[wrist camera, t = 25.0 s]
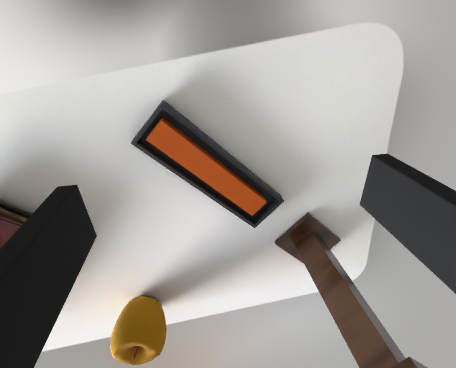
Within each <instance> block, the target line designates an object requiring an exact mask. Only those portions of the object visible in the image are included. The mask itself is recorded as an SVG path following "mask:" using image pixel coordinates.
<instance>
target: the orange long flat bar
mask: <svg viewBox="0 0 456 368" xmlns="http://www.w3.org/2000/svg"><path fill="white" fill-rule="evenodd" d="M146 140H147V141H148V142H150V143H151V144H153V145H154V146H155V147H157V148H158V149H160V150H161V151H162V152H164V153H165V154H167V155H168V156H169V157H171V158H172V159H174V160H175V161H176V162H178V163H179V164H181V165H182V166H183V167H185V168H186V169H188V170H189V171H190V172H192V173H193V174H195V175H196V176H197V177H199V178H200V179H202V180H203V181H204V182H206V183H207V184H209V185H210V186H211V187H213V188H214V189H216V190H217V191H218V192H220V193H221V194H223V195H224V196H225V197H227V198H228V199H230V200H231V201H232V202H234V203H235V204H237V205H238V206H239V207H241V208H242V209H244V210H245V211H246V212H248V213H249V214H251V215H252V216H253V215H254V214H255V213H256V212H257V211H258V210H259V209H260V208H261V207H262V206H264V205H265V204H266V203H267V201H266V199H265V197H264V196H263V195H262V194H260V193H259V192H258V191H257V190H255V189H254V188H253V187H252V186H250V185H249V184H248V183H246V182H245V181H244V180H243V179H241V178H240V177H239V176H237V175H236V174H235V173H234V172H232V171H231V170H230V169H229V168H227V167H226V166H225V165H223V164H222V163H221V162H220V161H218V160H217V159H216V158H215V157H213V156H212V155H211V154H209V153H208V152H207V151H206V150H204V149H203V148H202V147H200V146H199V145H198V144H197V143H195V142H194V141H193V140H192V139H190V138H189V137H188V136H186V135H185V134H184V133H183V132H181V131H180V130H179V129H178V128H176V127H175V126H174V125H172V124H171V123H170V122H169V121H167V120H166V119H165V118H163V117H162V118H161V119H160V121H159V122H158V123H157V124H156V126H155V127H154V128H153V129H152V131H151V132H150V133H149V135H148V136H147V139H146Z"/></svg>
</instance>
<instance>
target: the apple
mask: <svg viewBox="0 0 456 368" xmlns="http://www.w3.org/2000/svg"><path fill="white" fill-rule="evenodd" d="M165 338H166V322H165V316H164V312H163V309H162V306H161V304H160V303H159V301H158V300H156V299H154V298H151V297H145V296H139V297H136V298H134V299H132V300H131V301H130V302H129V303H128V304H127V305H126V306H125V307H124V309H123V310H122V312H121V314H120V316H119V318H118V320H117V322H116V324H115V327H114V330H113V332H112V336H111V342H110V349H111V353H112V356H113V357H114V358H115V359H116V360H117V361H119V362H121V363H125V364H132V365H140V364H144V363H147V362H149V361H151V360H153V359H154V358H155V357H157V356H158V355H160V353H161V351H162V349H163V347H164V343H165Z"/></svg>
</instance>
